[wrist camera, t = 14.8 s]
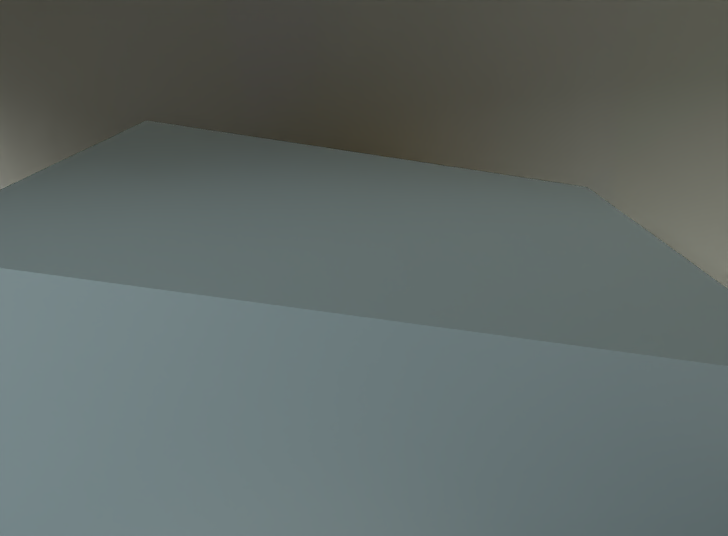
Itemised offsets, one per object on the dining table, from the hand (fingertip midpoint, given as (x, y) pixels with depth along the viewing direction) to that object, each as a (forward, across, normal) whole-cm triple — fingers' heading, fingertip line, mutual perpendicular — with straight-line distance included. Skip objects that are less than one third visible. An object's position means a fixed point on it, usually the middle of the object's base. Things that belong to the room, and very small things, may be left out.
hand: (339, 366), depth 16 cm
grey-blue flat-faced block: (+1, 0, 0) cm, 1 cm away
